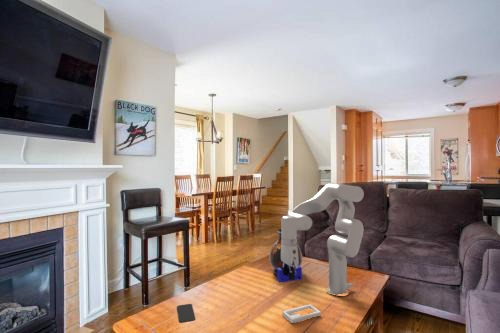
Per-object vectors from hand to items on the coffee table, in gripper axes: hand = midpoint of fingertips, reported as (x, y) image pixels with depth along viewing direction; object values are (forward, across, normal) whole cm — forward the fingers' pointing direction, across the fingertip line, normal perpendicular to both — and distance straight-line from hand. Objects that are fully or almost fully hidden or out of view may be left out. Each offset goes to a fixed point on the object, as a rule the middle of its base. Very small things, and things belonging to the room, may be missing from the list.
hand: (288, 277), depth 139 cm
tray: (+15, -9, -1) cm, 18 cm away
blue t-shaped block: (+1, 0, 0) cm, 1 cm away
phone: (+15, +14, +48) cm, 53 cm away
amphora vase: (+16, +39, -21) cm, 47 cm away
